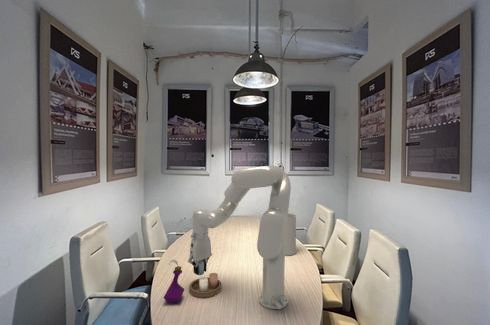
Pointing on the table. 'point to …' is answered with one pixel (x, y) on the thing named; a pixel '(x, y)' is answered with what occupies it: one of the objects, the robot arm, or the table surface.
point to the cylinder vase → (290, 235)
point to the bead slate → (201, 267)
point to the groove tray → (195, 292)
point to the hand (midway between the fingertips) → (200, 271)
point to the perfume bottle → (174, 287)
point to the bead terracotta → (213, 280)
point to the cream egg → (203, 284)
